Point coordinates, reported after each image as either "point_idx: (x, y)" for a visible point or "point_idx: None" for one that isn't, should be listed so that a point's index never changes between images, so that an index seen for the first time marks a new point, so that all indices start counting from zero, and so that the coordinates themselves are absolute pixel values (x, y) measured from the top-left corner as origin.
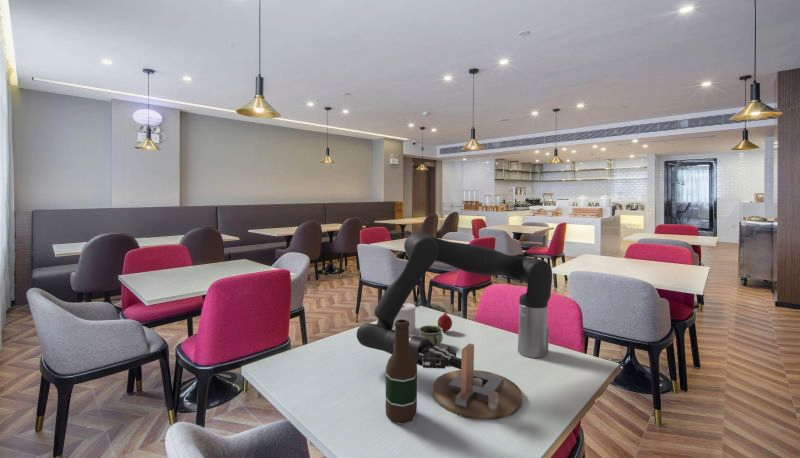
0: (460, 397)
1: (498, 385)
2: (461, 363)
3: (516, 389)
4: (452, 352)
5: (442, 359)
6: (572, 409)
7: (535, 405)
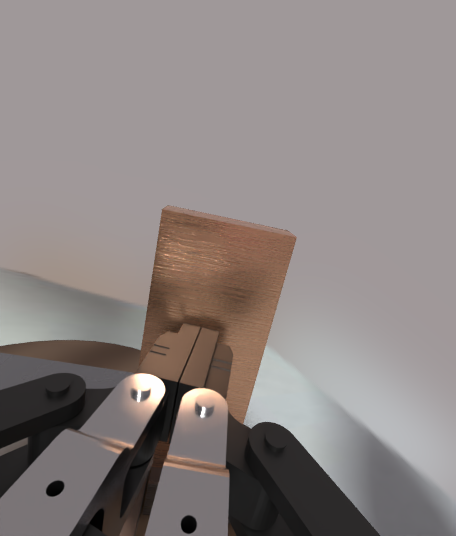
0: None
1: (65, 363)
2: (272, 321)
3: (22, 350)
4: (45, 405)
5: (299, 442)
6: (87, 296)
7: (86, 335)
